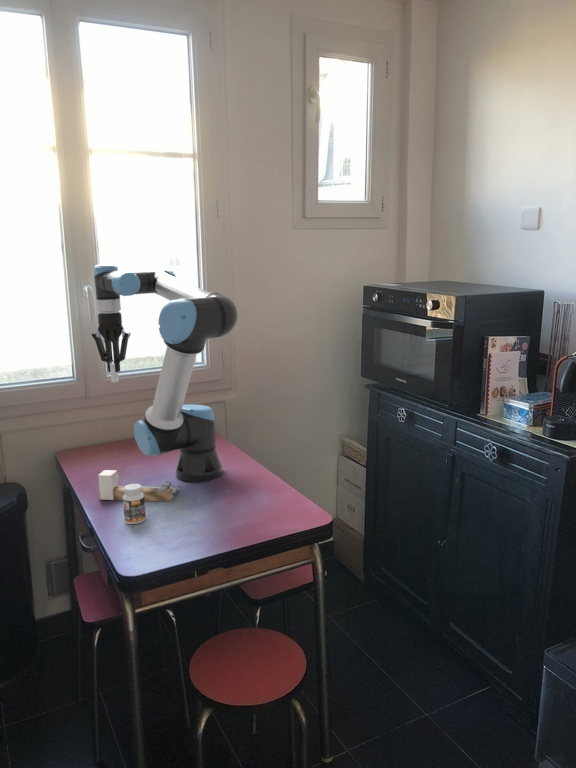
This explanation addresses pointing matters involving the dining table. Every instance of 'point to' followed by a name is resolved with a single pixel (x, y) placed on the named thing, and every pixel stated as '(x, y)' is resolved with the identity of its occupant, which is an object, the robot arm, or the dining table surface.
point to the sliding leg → (107, 484)
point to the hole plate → (174, 489)
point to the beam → (145, 494)
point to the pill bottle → (134, 504)
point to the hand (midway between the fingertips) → (115, 381)
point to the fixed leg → (165, 486)
